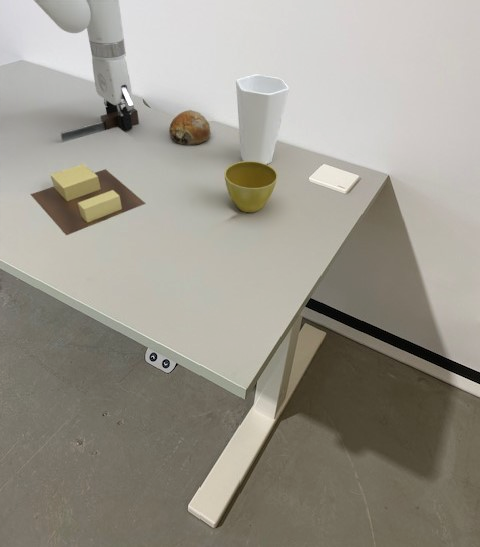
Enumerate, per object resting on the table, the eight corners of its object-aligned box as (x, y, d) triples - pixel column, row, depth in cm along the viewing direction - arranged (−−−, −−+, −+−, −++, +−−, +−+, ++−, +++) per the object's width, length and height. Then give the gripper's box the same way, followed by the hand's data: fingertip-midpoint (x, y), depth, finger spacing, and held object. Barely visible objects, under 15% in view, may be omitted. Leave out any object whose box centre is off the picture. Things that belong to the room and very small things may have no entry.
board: (68, 241, 74) (66, 235, 73) (32, 200, 82) (30, 194, 81) (146, 209, 82) (145, 203, 81) (106, 175, 90) (105, 169, 89)
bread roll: (211, 155, 106) (223, 124, 102) (178, 147, 99) (190, 114, 95) (191, 139, 111) (202, 109, 108) (159, 131, 104) (169, 99, 101)
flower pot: (214, 200, 85) (214, 169, 80) (253, 186, 90) (256, 156, 85) (243, 226, 79) (245, 194, 74) (283, 209, 84) (288, 178, 79)
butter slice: (87, 222, 76) (83, 209, 74) (81, 216, 77) (77, 202, 75) (122, 209, 79) (119, 195, 77) (115, 203, 80) (112, 189, 78)
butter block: (67, 201, 80) (63, 188, 78) (53, 187, 83) (49, 174, 81) (100, 189, 84) (97, 176, 81) (86, 176, 87) (83, 163, 85)
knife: (134, 120, 110) (132, 107, 108) (139, 123, 109) (137, 110, 106) (60, 141, 100) (57, 127, 98) (65, 145, 99) (61, 130, 96)
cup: (230, 148, 101) (233, 74, 89) (270, 146, 103) (278, 73, 91) (240, 172, 93) (244, 95, 82) (283, 169, 95) (293, 93, 83)
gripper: (75, 40, 97) (90, 117, 109) (111, 61, 88) (124, 142, 101) (104, 36, 101) (116, 110, 113) (142, 55, 92) (151, 134, 104)
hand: (120, 124), depth 107 cm, fingers open, 5 cm apart
